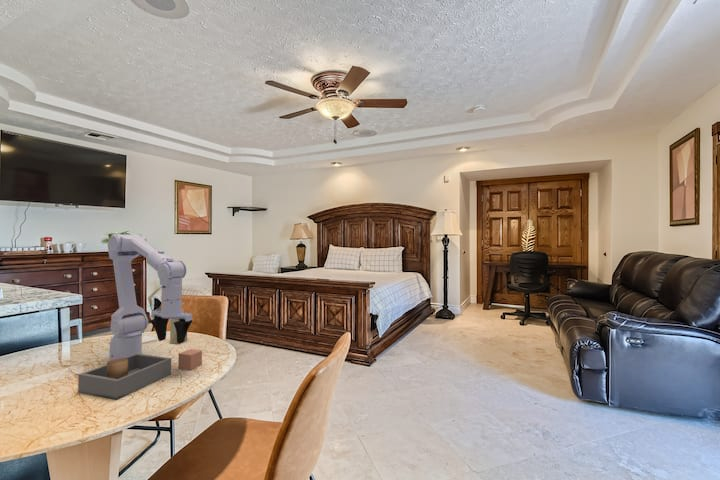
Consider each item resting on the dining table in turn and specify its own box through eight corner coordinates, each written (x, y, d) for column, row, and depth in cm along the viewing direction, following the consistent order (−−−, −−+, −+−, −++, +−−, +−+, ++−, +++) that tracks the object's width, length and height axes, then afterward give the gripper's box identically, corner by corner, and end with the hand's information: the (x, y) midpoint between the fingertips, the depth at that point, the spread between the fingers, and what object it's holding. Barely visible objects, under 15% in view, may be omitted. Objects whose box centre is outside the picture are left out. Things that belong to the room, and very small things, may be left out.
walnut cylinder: (103, 386, 98) (103, 361, 98) (122, 380, 103) (123, 356, 102) (111, 390, 96) (111, 365, 96) (131, 384, 100) (131, 360, 100)
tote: (78, 392, 96) (78, 374, 95) (136, 368, 113) (136, 353, 113) (116, 399, 92) (116, 381, 92) (171, 374, 109) (171, 358, 109)
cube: (178, 368, 114) (178, 353, 114) (189, 363, 118) (190, 349, 118) (190, 370, 112) (190, 355, 112) (201, 365, 117) (202, 350, 117)
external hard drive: (157, 342, 142) (123, 350, 132) (147, 338, 146) (113, 346, 136) (157, 338, 142) (123, 346, 132) (147, 335, 146) (113, 342, 136)
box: (178, 344, 138) (179, 316, 138) (169, 343, 139) (169, 316, 139) (187, 340, 143) (188, 314, 143) (178, 339, 144) (179, 313, 144)
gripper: (199, 298, 112) (199, 340, 112) (164, 295, 116) (163, 335, 116) (182, 302, 105) (181, 346, 105) (145, 299, 109) (145, 341, 110)
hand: (171, 341), depth 110 cm, fingers open, 7 cm apart
